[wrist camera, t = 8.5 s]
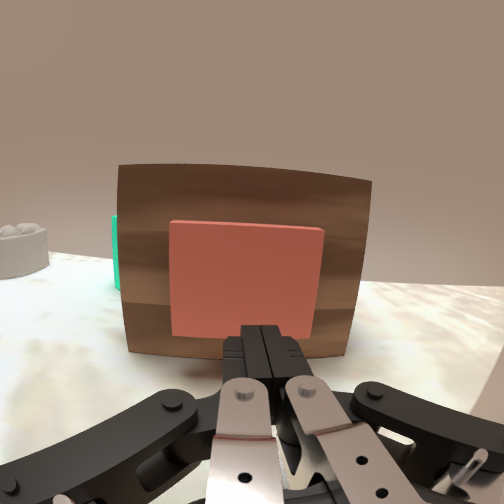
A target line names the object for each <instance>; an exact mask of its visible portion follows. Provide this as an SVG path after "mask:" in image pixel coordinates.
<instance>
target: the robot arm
mask: <svg viewBox="0 0 504 504" xmlns="http://www.w3.org/2000/svg"><path fill="white" fill-rule="evenodd" d="M271 425H276V429H277V433H276V438H275V437H272V430H271ZM380 427H384V428H386V429H388V430H391V431H393V432H395V433H398V434H400V435H403V436H405V437H408V438H410V439H412V440H413V441H414V443H413V444H411V445H405V444H402V443H399V442H397V441H395V440H392V439H390V438H387V437H385V436H383V435H381V434H378V431H379V429H380ZM278 451H279V454H280V457H281V460H282V463H283V466H284V469H285V472H286V475H287V478H288V482H289V490H288V489H282V481H281V472H280V464H279V455H278ZM208 459H210V468H209V477H208V486H207V495H206V498H203V499H199V500H197V501H194V502H191V503H189V504H498V503H499V499H500V495H501V491H502V487H503V481H504V425H503V424H499V423H495V422H492V421H488V420H484V419H481V418H478V417H474V416H471V415H468V414H465V413H462V412H459V411H455V410H452V409H449V408H446V407H443V406H441V405H438V404H435V403H432V402H429V401H426V400H424V399H421V398H418V397H416V396H413V395H410V394H408V393H405V392H402V391H400V390H397V389H395V388H392V387H390V386H387V385H385V384H382V383H379V382H373V381H369V382H363V383H361V384H359V385H358V386H357V387H356V388H355V390H354V393H346V392H336V391H331V390H330V388H329V387H328V385H327V384H326V383H325V382H324V381H323V380H321V379H319V378H317V377H314V375H313V373H312V371H311V369H310V367H309V365H308V363H307V360H306V358H305V357H304V354H303V352H302V351H301V348H300V346H299V343H298V342H297V341H296V340H294V339H293V338H292V337H291V336H282V335H281V332H280V330H279V327H278V325H260V326H259V325H241V328H240V336H228V337H227V338H226V339H225V341H224V342H223V385H222V388H221V389H220V390H219V391H218V392H217V393H216V394H214V395H212V396H210V397H206V398H201V399H196V400H195V398H194V397H193V396H192V395H191V394H189V393H188V392H185V391H183V390H178V389H166V390H162V391H159V392H157V393H155V394H153V395H152V396H150V397H148V398H146V399H145V400H143V401H141V402H139V403H137V404H136V405H134V406H132V407H130V408H128V409H126V410H124V411H123V412H121V413H119V414H117V415H115V416H113V417H111V418H109V419H107V420H105V421H103V422H101V423H99V424H97V425H95V426H93V427H91V428H89V429H87V430H85V431H83V432H81V433H79V434H77V435H75V436H72V437H70V438H68V439H66V440H64V441H61V442H59V443H57V444H55V445H52V446H50V447H48V448H45V449H43V450H40V451H38V452H35V453H33V454H30V455H28V456H25V457H23V458H20V459H17V460H15V461H12V462H9V463H6V464H3V465H1V466H0V504H148V503H150V502H151V501H153V500H154V499H155V498H157V497H158V496H160V495H161V494H163V493H164V492H165V491H167V490H168V489H169V488H171V487H172V486H173V485H175V484H176V483H177V482H179V481H180V480H181V479H183V478H184V477H185V476H186V475H188V474H189V473H190V472H191V471H193V470H194V469H195V468H196V467H197V466H199V465H200V463H201V461H203V460H208Z"/></svg>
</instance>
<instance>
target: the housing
mask: <svg viewBox="0 0 504 504" xmlns="http://www.w3.org/2000/svg"><path fill="white" fill-rule="evenodd" d="M371 187H372V181H368V180H363V179H356V178H350V177H343V176H337V175H329V174H322V173H314V172H306V171H297V170H287V169H276V168H265V167H250V166H234V165H213V164H211V165H210V164H133V165H119V169H118V187H117V247H118V267H119V280H120V292H121V301H122V310H123V318H124V325H125V332H126V338H127V344H128V350H129V351H131V352H138V353H147V354H155V355H165V356H176V357H189V358H206V359H223V342H224V341H225V339H221V338H200V337H184V336H172V323H171V306H170V279H169V223H170V222H171V221H173V220H186V221H212V222H235V223H254V224H272V225H289V226H304V227H318V228H320V229H322V230H325V234H324V243H323V252H322V260H321V268H320V276H319V283H318V290H317V297H316V304H315V310H314V316H313V322H312V328H311V334H310V338H308V339H294V340H296V341H297V342H298V343H299V346H300V348H301V351H302V352H303V354H304V357H305V358H321V357H334V356H344V353H345V350H346V346H347V342H348V337H349V333H350V329H351V325H352V320H353V315H354V311H355V306H356V301H357V296H358V290H359V285H360V279H361V273H362V267H363V260H364V254H365V247H366V239H367V231H368V222H369V212H370V200H371Z"/></svg>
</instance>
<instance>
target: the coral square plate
mask: <svg viewBox="0 0 504 504" xmlns="http://www.w3.org/2000/svg"><path fill="white" fill-rule="evenodd" d="M324 234H325V230H322V229H320V228H318V227H304V226H289V225H272V224H254V223H235V222H212V221H186V220H173V221H171V222H170V223H169V279H170V306H171V323H172V336H184V337H200V338H221V339H226V338H227V337H228V336H240V328H241V325H259V326H260V325H278V327H279V330H280V332H281V335H282V336H291V337H292V338H293V339H308V338H310V334H311V328H312V322H313V316H314V310H315V304H316V297H317V290H318V283H319V276H320V268H321V260H322V252H323V243H324Z"/></svg>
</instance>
